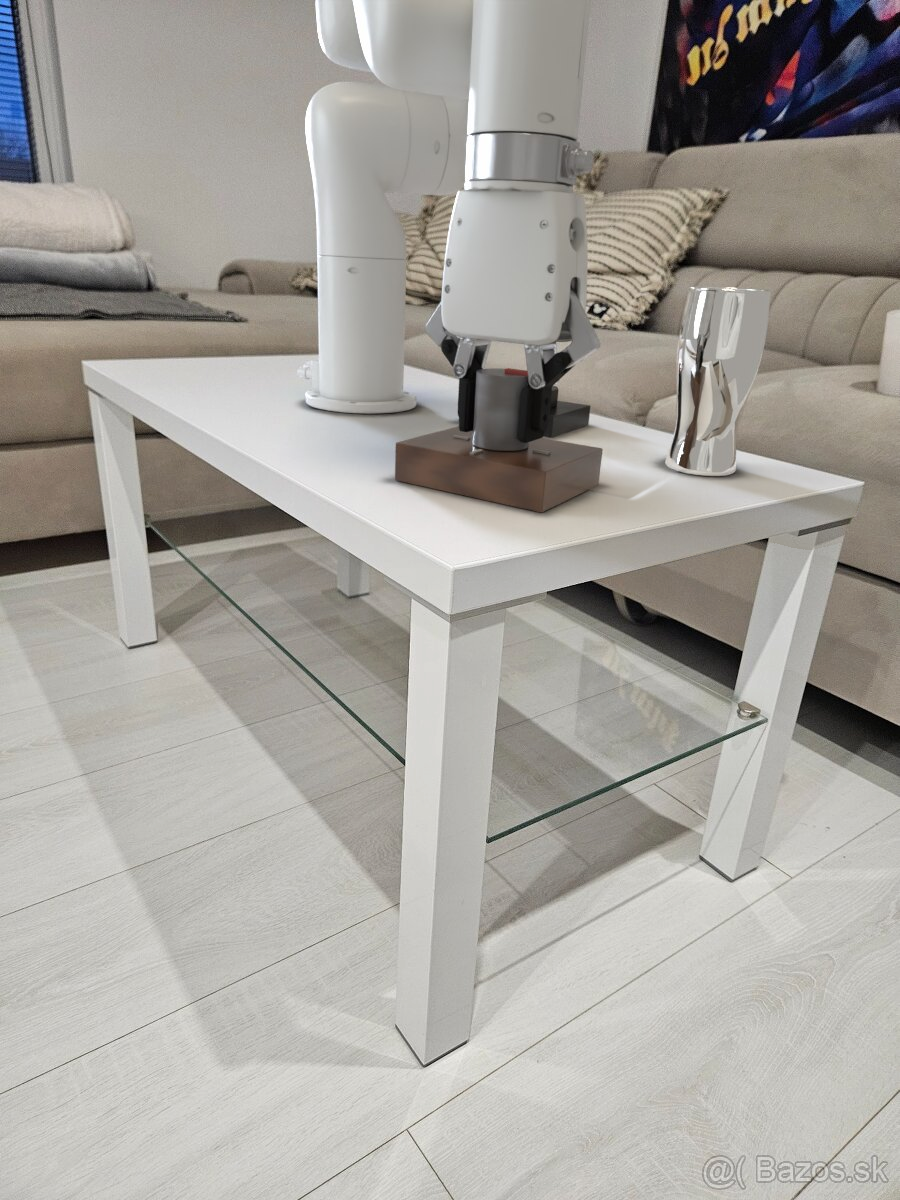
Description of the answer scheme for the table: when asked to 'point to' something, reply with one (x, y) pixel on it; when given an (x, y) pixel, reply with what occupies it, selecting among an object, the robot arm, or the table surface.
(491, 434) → the knob
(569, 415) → the button box
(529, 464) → the brown wooden base
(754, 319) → the beer glass
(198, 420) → the table surface
